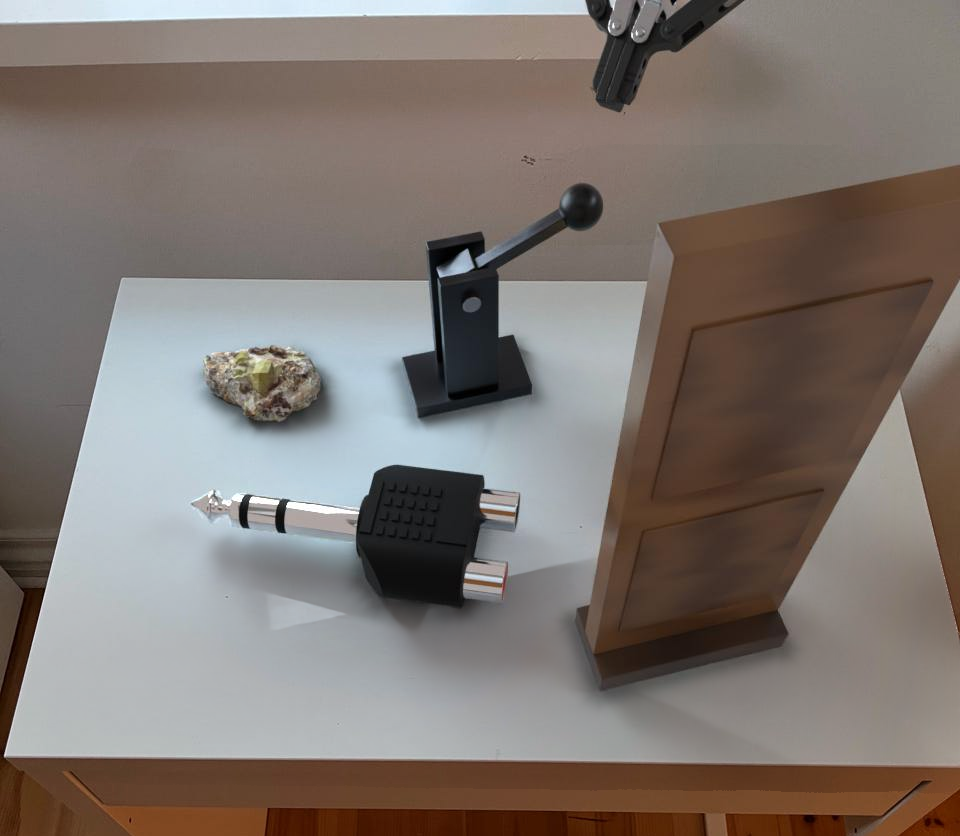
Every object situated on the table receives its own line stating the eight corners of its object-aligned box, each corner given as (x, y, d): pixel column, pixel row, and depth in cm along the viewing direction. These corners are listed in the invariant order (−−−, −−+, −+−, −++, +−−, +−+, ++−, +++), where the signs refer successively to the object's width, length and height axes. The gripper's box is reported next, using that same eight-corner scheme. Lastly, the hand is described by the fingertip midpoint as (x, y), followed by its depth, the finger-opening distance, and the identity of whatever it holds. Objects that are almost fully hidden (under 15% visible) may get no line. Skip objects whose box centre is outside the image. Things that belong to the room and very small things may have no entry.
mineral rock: (336, 340, 79) (298, 388, 74) (341, 385, 82) (304, 435, 77) (222, 320, 81) (176, 365, 76) (230, 365, 84) (187, 411, 79)
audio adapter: (500, 589, 64) (156, 543, 66) (500, 626, 69) (179, 581, 71) (522, 464, 69) (202, 425, 71) (521, 506, 74) (220, 469, 76)
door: (750, 578, 70) (961, 128, 38) (782, 646, 68) (1036, 223, 36) (574, 620, 69) (640, 189, 37) (599, 691, 66) (693, 293, 34)
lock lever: (601, 197, 69) (587, 164, 66) (614, 225, 68) (600, 193, 65) (451, 286, 73) (431, 259, 70) (460, 314, 71) (441, 288, 68)
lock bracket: (513, 344, 82) (515, 219, 70) (532, 394, 79) (537, 272, 68) (402, 366, 81) (387, 243, 69) (417, 418, 78) (404, 299, 67)
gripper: (820, -138, 59) (704, 150, 65) (631, -184, 62) (538, 95, 68) (816, -210, 52) (687, 119, 58) (604, -257, 55) (503, 60, 61)
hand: (607, 106), depth 63 cm, fingers closed
